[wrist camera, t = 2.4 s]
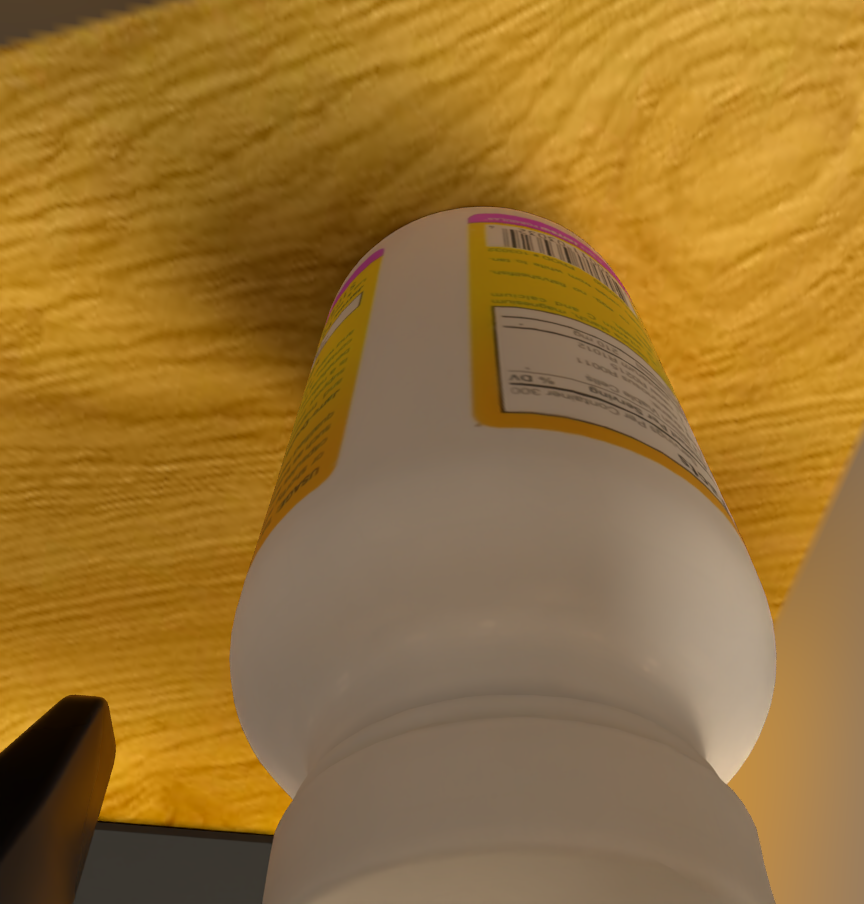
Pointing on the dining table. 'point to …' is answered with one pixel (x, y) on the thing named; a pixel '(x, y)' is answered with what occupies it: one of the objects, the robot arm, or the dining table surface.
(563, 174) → the dining table surface
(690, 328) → the dining table surface
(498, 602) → the supplement bottle
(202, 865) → the mat
